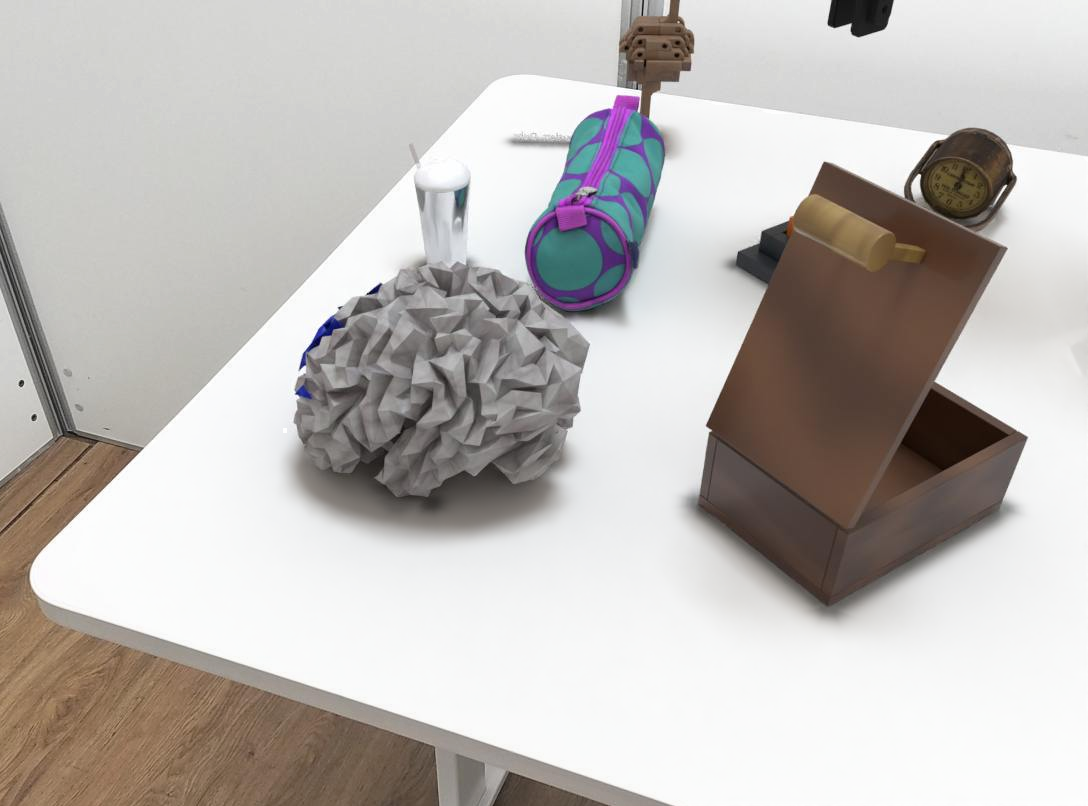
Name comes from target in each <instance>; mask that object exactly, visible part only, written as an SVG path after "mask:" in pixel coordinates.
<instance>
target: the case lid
mask: <svg viewBox="0 0 1088 806" xmlns="http://www.w3.org/2000/svg"><path fill="white" fill-rule="evenodd" d="M916 203H917V202H916ZM916 203H914V202H912V201H910V200H908V199H906V198H905V197H904V196H901V194H897V193H896V192H894V191H891V190H890V189H887V188H885V187H883V186H881V185H879V184H877V183H874V182H873V181H870V180H868V179H867V178H864V177H862V176H861V175H858V174H856V173H854V172H852V171H850V170H848V169H845V168H844V167H841V166H839V165H838V164H836V163H833V162H829V161H823V162H822V164H821V166H820V169H819V170H818V173H817V175H816V177H815V179H814V182H813V184H812V187H811V188H810V191H809V193H808V196H805V198H804V199H803V200H801V202H800V203H799V204H798V206H797V207H796V209H795V211H794V213H793V216H794V217H793V227H794V229H793V231H792V233H791V236H790V238H789V240H788V242H787V245H786V247H785V249H784V251H783V254H782V256H781V258H780V260H779V262H778V265H777V267H776V269H775V271H774V274H773V276H772V278H771V280H770V283H768V284H767V287H766V290H765V292H764V294H763V297H762V298H761V300H760V303H759V305H758V307H757V310H756V312H755V314H754V316H753V318H752V321H751V323H750V326H749V327H748V329H747V331H746V334H745V336H744V339H743V341H742V343H741V345H740V348H739V350H738V351H737V355H736V356H735V359H734V361H733V364H732V365H731V368H730V370H729V372H728V375H727V377H726V379H725V382H724V384H723V386H722V388H721V390H720V392H719V395H718V396H717V399H716V402H715V403H714V406H713V408H712V409H711V412H710V414H709V417H708V420H707V422H706V423H705V427H706V428H707V429H709V430H710V431H713V432H715V433H716V434H717V435H719V436H720V437H721V438H723V439H724V440H725V441H727V442H728V443H730V444H731V445H732V446H734V447H735V448H736V449H738V450H739V451H740V452H742V453H743V454H744V455H746V456H747V457H749V458H750V459H751V460H753V461H754V462H755V463H757V464H758V465H759V466H761V467H762V468H764V469H765V470H766V471H768V472H769V473H770V474H772V475H773V476H774V477H776V478H777V479H779V480H780V481H781V482H783V483H784V484H785V485H787V486H788V487H789V488H791V489H792V490H794V491H795V492H796V493H798V494H799V495H800V496H802V497H803V498H804V499H806V500H807V501H809V502H810V503H811V504H813V505H814V506H815V507H817V508H818V509H819V510H821V511H822V512H824V513H825V514H826V515H828V516H829V517H830V518H832V519H833V520H834V521H836V522H837V523H839V524H840V525H841V526H843V527H844V528H845V529H848V528H854V526H855V524H856V523H857V521H858V519H859V517H860V515H861V514H862V512H863V510H864V508H865V506H866V505H867V503H868V501H869V499H870V497H871V495H872V494H873V492H874V490H875V488H876V486H877V485H878V483H879V481H880V479H881V477H882V476H883V474H884V472H885V470H886V468H887V467H888V465H889V463H890V461H891V459H892V457H893V456H894V454H895V452H896V450H897V448H898V447H899V445H900V443H901V441H902V439H903V438H904V436H905V434H906V432H907V430H908V429H909V427H910V425H911V423H912V421H913V419H914V418H915V416H916V414H917V412H918V410H919V409H920V407H921V405H922V403H923V401H924V400H925V398H926V396H927V394H928V392H929V390H930V389H931V387H932V385H933V383H934V381H935V382H936V380H937V378H938V376H939V374H940V373H941V371H942V368H943V367H944V365H945V364H946V361H948V358H949V356H950V354H951V353H952V351H953V349H954V348H955V345H956V343H957V341H958V340H959V338H960V336H961V335H962V332H963V330H964V329H965V327H966V325H967V324H968V322H969V320H970V318H971V316H972V314H973V312H974V311H975V309H976V308H977V306H978V303H979V302H980V300H981V298H982V296H983V294H984V293H985V291H986V289H987V287H988V285H989V283H990V282H991V280H992V278H993V277H994V274H995V273H996V271H997V269H998V267H999V265H1000V264H1001V263H1002V260H1003V258H1004V257H1005V254H1006V253H1007V251H1008V247H1007V246H1005V245H1003V244H1001V243H1000V242H997V241H995V240H993V239H991V238H989V237H987V236H985V235H983V234H980V233H979V232H974V231H972V230H970V229H968V228H966V227H964V226H962V225H963V224H960V223H958V222H956V221H953V219H952V220H951V219H950V218H948V217H945V216H943V215H941V214H939V213H937V212H935V211H934V210H931V209H929V208H927V207H924V206H922V205H921V204H918V203H917V204H916Z"/></svg>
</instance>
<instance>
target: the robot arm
mask: <svg viewBox="0 0 1088 806" xmlns="http://www.w3.org/2000/svg"><path fill="white" fill-rule="evenodd" d="M894 2H895V0H830V5H829V11H828V17H827V26H828V27H829V28H833V29H837V28H841V27H845V26H848V25H850V29H849V31H850V35H851V36H853V37H856V38H862V37H865V36H869V35H873V34H875V33H878V32H883V31H884V30H886V28H887V27H888V25H889V21H890V17H891V15H892V12H893V6H894Z"/></svg>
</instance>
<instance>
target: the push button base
mask: <svg viewBox="0 0 1088 806" xmlns="http://www.w3.org/2000/svg"><path fill="white" fill-rule="evenodd" d="M788 224H789V220H787V221H784V222H782V223H779V224H776V225H773V226H771V227H768V228H765V229H763V230H761V232H760V238H759V242H758V243H756V244H754V245H751V246H748V247H746V248H743V249H740V250H738V251H737V254H736V260H735V261H736V262H735V264H736V266H738V267H740V268H742V269H743V270H745V271H747V272H748V273H750V274H752V275H753V276H755V277H757V278H759V279H760V280H762V281H764V282H765V283H767V284H769V283H770V280H771V278H772V276H773V274H774V271H775V269H776V267H777V265H778V262H779V260H780V258H781V256H782V254H783V251H784V249H785V247H786V245H787V242H788V240H789V238H790V237H789V236H787V229H788Z"/></svg>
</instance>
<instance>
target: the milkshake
mask: <svg viewBox="0 0 1088 806" xmlns="http://www.w3.org/2000/svg"><path fill="white" fill-rule="evenodd" d="M408 147H409V150H410V153H411V155H412V158H413V161H414V163H415V166H416V169H417V170H416V171H414V175H413V182H414V188H415V193H416V194H415V195H416V199H417V206H418V212H419V219H420V226H421V234H422V242H423V249H424V256H425V263H426V264H425V265H427V264H430V263H431V264H432V265H433V264H436V263H438V262H441V261H442V262H443V263H444V264H445V265H446V266H447V267H448V268H449V269H450V268H451V267H452V266H453V265H454V264H455V263H456V262H457V261H458V262H460V263H462V264H464V265H466V266H467V253H468V231H469V211H470V210H469V208H470V196H471V195H470V194H471V183H472V181H471V179H472V176H471V171H470V169H469V168H468V167H467V166H466V165H465V164H464V163H462V162H461V161H459V160H457V159H456V158H454V157H447V158H443V159H442V158H441V159H440V158H436V159H433V160H431V161H429V162H426V163H423V164H421V163H420V160H419V157H418V154H417V152H416V149H415V146H414V144H413V143H412V142H411V143H409V144H408Z"/></svg>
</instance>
